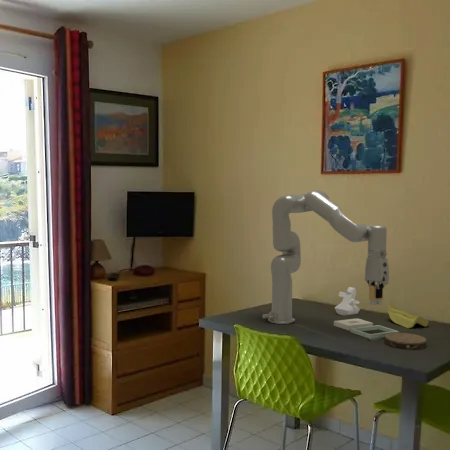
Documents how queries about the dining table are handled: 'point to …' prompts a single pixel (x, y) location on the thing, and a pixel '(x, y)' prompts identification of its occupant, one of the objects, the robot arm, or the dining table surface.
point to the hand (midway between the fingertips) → (375, 296)
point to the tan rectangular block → (374, 295)
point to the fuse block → (352, 323)
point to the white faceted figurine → (348, 303)
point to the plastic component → (405, 318)
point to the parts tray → (370, 336)
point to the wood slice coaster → (405, 341)
